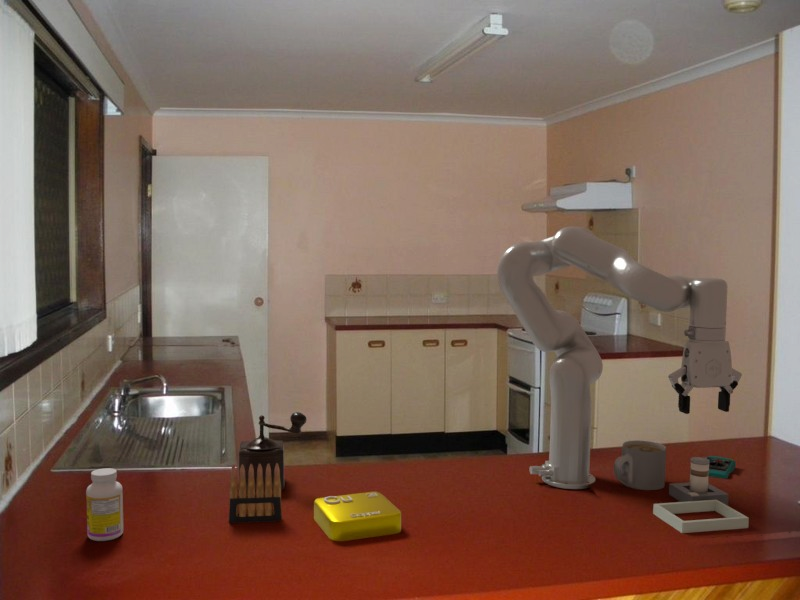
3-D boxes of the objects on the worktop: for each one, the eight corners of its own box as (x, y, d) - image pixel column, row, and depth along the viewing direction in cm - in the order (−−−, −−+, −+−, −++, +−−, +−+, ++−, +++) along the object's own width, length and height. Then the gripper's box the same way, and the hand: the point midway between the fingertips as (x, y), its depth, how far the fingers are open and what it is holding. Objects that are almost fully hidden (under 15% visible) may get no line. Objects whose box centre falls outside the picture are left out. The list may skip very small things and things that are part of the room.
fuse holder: (691, 512, 177) (692, 495, 177) (668, 498, 186) (669, 482, 186) (727, 509, 179) (728, 493, 179) (704, 496, 188) (704, 480, 188)
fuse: (695, 503, 180) (697, 462, 179) (685, 497, 184) (687, 457, 183) (710, 502, 181) (713, 461, 180) (700, 496, 185) (702, 456, 184)
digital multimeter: (735, 469, 211) (736, 458, 210) (726, 484, 198) (727, 472, 198) (705, 465, 214) (706, 454, 214) (694, 479, 202) (695, 468, 201)
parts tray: (681, 537, 163) (682, 522, 163) (652, 518, 174) (653, 503, 173) (748, 532, 166) (748, 517, 166) (715, 513, 177) (716, 499, 177)
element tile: (332, 544, 158) (332, 520, 158) (311, 518, 172) (311, 496, 171) (404, 534, 164) (404, 511, 163) (378, 509, 177) (378, 488, 177)
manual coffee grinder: (237, 494, 185) (237, 416, 183) (239, 478, 196) (239, 404, 194) (306, 491, 187) (307, 414, 185) (304, 476, 198) (305, 403, 196)
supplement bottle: (95, 528, 163) (94, 465, 162) (128, 529, 163) (127, 466, 161) (81, 542, 156) (79, 476, 155) (115, 542, 156) (114, 477, 155)
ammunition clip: (281, 517, 171) (281, 461, 169) (281, 521, 169) (281, 464, 168) (229, 519, 169) (229, 463, 168) (228, 523, 167) (228, 465, 166)
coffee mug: (649, 479, 200) (651, 439, 199) (672, 492, 190) (675, 450, 189) (600, 483, 197) (601, 442, 196) (621, 496, 187) (623, 453, 186)
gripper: (681, 338, 173) (678, 417, 175) (752, 336, 177) (749, 413, 179) (662, 333, 181) (659, 409, 182) (731, 331, 184) (728, 406, 186)
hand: (703, 411), depth 180 cm, fingers open, 9 cm apart
